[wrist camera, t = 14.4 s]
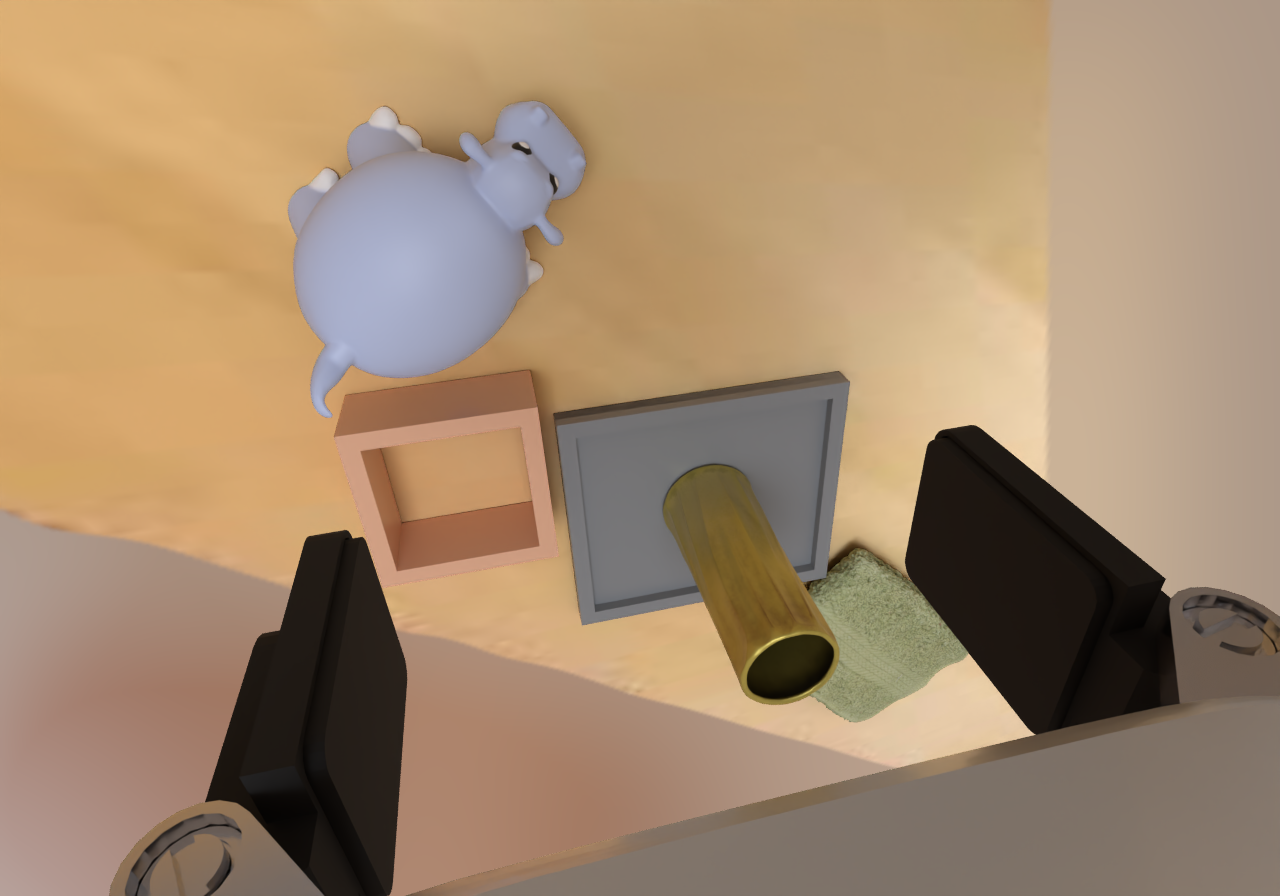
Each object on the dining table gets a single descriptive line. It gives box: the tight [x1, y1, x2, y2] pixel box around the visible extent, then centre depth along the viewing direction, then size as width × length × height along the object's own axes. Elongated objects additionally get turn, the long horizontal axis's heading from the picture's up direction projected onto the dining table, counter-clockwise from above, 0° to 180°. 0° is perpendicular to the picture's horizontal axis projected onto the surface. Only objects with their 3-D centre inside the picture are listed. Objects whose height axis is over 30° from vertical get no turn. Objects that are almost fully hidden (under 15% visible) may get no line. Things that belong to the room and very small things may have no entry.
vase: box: [663, 465, 840, 705], centre depth 41 cm, size 6×6×14 cm
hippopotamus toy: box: [288, 101, 586, 418], centre depth 32 cm, size 11×15×10 cm
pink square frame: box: [334, 370, 559, 588], centre depth 40 cm, size 10×10×4 cm
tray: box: [554, 371, 850, 625], centre depth 47 cm, size 18×16×2 cm
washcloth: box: [808, 548, 968, 722], centre depth 57 cm, size 13×18×3 cm
